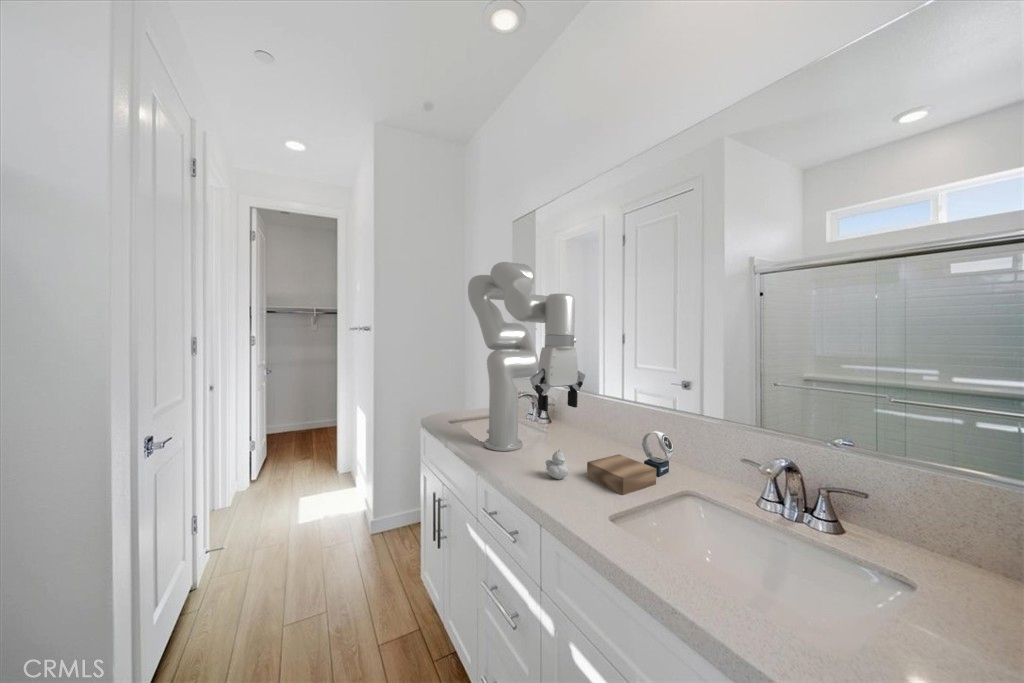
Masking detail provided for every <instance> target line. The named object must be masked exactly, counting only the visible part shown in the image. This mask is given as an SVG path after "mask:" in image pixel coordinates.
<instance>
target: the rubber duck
mask: <svg viewBox="0 0 1024 683" xmlns="http://www.w3.org/2000/svg"><path fill="white" fill-rule="evenodd" d="M558 448H559V449H558V450H556V451H555V452H554V453H553V454H552V456H551V459H547V460H546V461H545V467H546V471H547V472H548V476H550V477H552V478H553V479H557V480H561V479H564V478H565V477H567V476H568V475H569V469H568V466H567V463H566V461H567V460H566V457H565V455H564V453H563V451H562V450H561V447H558Z"/></svg>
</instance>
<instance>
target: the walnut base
mask: <svg viewBox="0 0 1024 683" xmlns="http://www.w3.org/2000/svg"><path fill="white" fill-rule="evenodd" d="M586 467H587V468H586V477H587V478H588V479H590V480H592V481H594V482H596V483H597V484H600V485H602V486H604V487H606V488H608V489H610V490H612V491H614V492H616V493H618V494H620V495H622V496H625V495H629V494H630V493H634V492H637V491H640V490H643V489H646V488H649V487H652V486H656V485H657V476H656V468H654V467H651V466H649V465H646V464H644V462H640V461H638V460H636V459H632V458H630V457H628V456H624V455H622V454H615V455H610V456H607V457H603V458H597V459H593V460H589V461H587V463H586Z"/></svg>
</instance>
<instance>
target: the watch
mask: <svg viewBox="0 0 1024 683" xmlns="http://www.w3.org/2000/svg"><path fill="white" fill-rule="evenodd" d="M651 434H653V435H656V437H657V442H658V445H659V447H660V449H661V451H662V452H664V456H666V457H665V458H660V457H657V456H654V455H653V452H652V450H651V447H650V444H649V442H648V438H649V436H650V435H651ZM641 445H642V449H643V452H644V454H645V455H646V457H647V458H648V459H645V460H644V461H643V464H646V465H649V466H651V467H654V468H656V478H661V477H663V476H664V475H667V474H668V473H669V472H670V460H669V459H671V457H672V455H673V453H674V449H675V447H674V444H673V440H672V439H671V437H670V436H669V435H667V434H666V433H664V432H661V431H659V430H654V431H651V432H648V433H645V434H644V436H643V438H642V442H641Z"/></svg>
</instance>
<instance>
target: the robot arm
mask: <svg viewBox="0 0 1024 683" xmlns="http://www.w3.org/2000/svg"><path fill="white" fill-rule="evenodd" d="M534 282H535V273H534V270H533V269H532V267H530V266H529V265H527V264H526V263H518V262H509V261H500V262H497V263H495V264H494V265H493V266H492V268H491V269H490V274H478V275H474V276H473V277H471V278H470V280H469V282H468V285H467V297H468V301H469V303H470V305H471V308H472V310H473V312H474V314H475V316H476V317H477V321H478V324H479V328H480V331H481V335H482V337H483V341H484V343H485V345H486V347H487V349H489V350H491V352H490V353H489V355H488V357H487V359H486V366H487V367H486V369H487V374H488V381H489V382H488V383H489V385H488V386H489V399H488V400H489V404H488V405H489V407H488V408H489V409H488V412H489V413H488V415H489V416H488V418H489V419H488V429H486V433H487V434H488V438H486V439H485V440H484V441H483V442H484V444H483V445H484V447H485V448H487V449H489V450H491V451H496V452H509V451H516V450H519V449H521V448H522V447H523V441H522V440H521V439H520V438H519V437H518V436H519V433H518V432H519V390H518V387H517V386H516V384H515V383H514V381H513V379H518V378H519V379H521V378H529V381H530V383H531V386H532V389H533V390H534V391H535V394H537V409H538V410H540V411H542V412H548V410H549V395H547V393H548V392H549V391H550V389H551V388H559V387H567V388H568V389H569V390H568V391H567V406H568V407H572V408H578V397H579V396H578V393H579V392H580V391H581V388H582V386H584V385H583V384H584V381H585V378H586V375H585V374H584V373H583V372H582V371H580V370H579V368H578V365H579V364H578V356H577V350H576V347H575V343H577V338H576V337H575V322H576V319H575V318H576V317H575V314H576V299H575V296H574V295H572V294H570V293H551V294H548V295H543V294H534V293H533V294H531V293H532V291H533V290H532V289H533V284H534ZM492 300H495V301H496V300H498V301H503V304H504V307H505V310H506V311H507V312H508V313H509V314H510V316H512V317H513V318H514V319H515V320H517V321H519V322H522V323H535V324H537V323H539V324H544V346H543V347H541V351H540V354H539V357H538V353H537V351H536V348H535V346H534V343H533V339H532V338H531V335H530V332H529V330H528V329H527V327H526V326H525V325H523V324H521V323H515V322H507V321H505V320H504V317H503V315H502V312H501V310H500V309H499V308H498V306H497V305H496V304H495V303H493V302H492Z"/></svg>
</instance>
